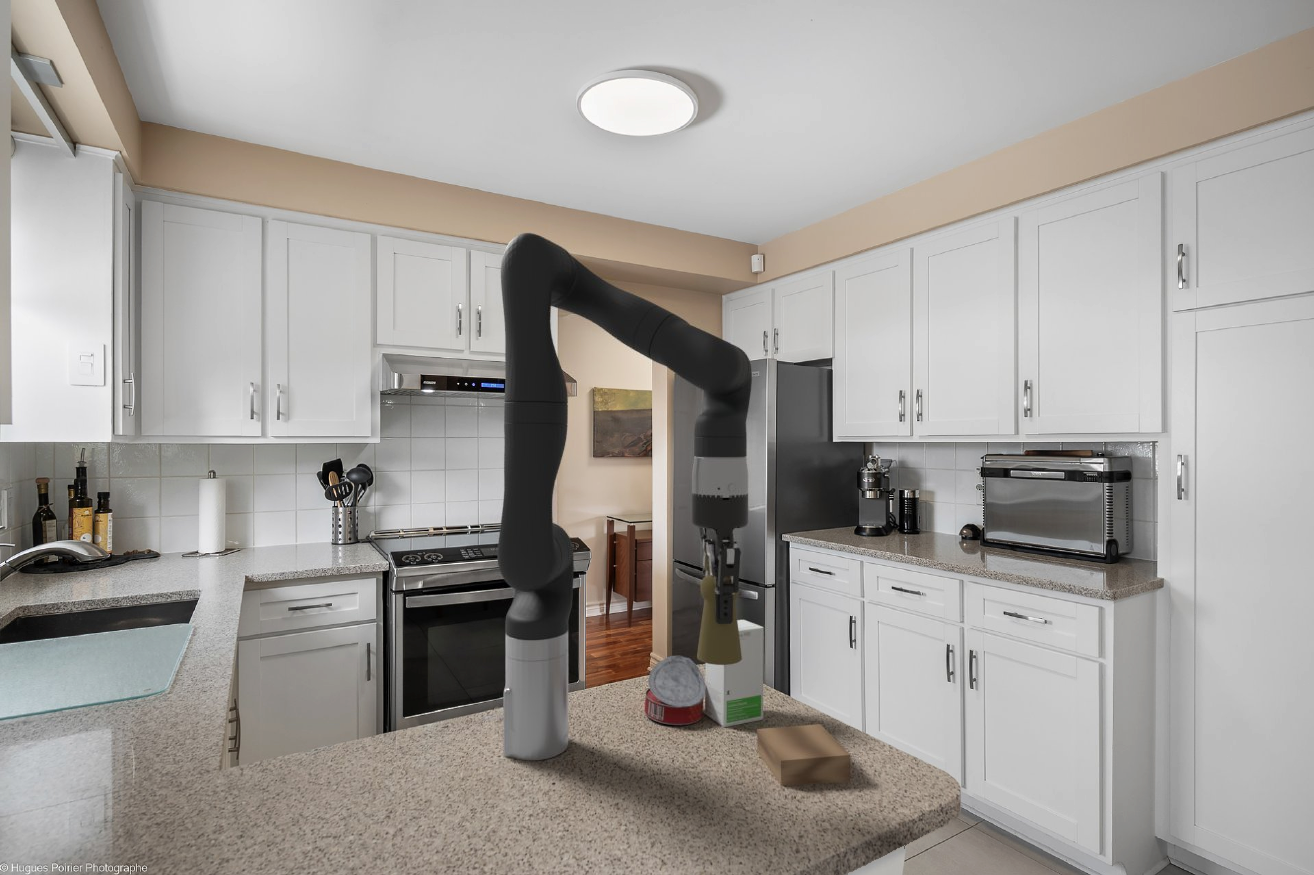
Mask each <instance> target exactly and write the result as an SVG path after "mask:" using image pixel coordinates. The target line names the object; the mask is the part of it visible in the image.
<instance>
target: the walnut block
mask: <svg viewBox="0 0 1314 875" xmlns="http://www.w3.org/2000/svg"><path fill="white" fill-rule="evenodd" d="M756 729H757V728H756ZM756 734H757V735H756V739H757V740H756V742H757V743H756V748H757V754H758V753H759V754H758V755H759V757H760V756H761V757H762V758H761V757H760V758H761V759H762V762H764V764H765V763H766V764H765V765H766V767H767V766H768V767H767V768H768V769H769V771H770V770H771V771H770V773H773V774H772V776H773V777H774V778H775V777H776V778H775V780H776V781H777V783H780V784H779V785H780V786H781V785H783V786H797V785H812V784H813V785H814V784H828V783H829V784H830V783H831V784H832V783H843V782H844V783H845V782H851V754H850V753H849V751H848V750H846V749H845V747H843V746H842V745H841V744H840V742H838V740H836V739H835V737H833V735H832V734H830V732H828V731H827V729H826V728H825V727H824V726H823V725H822V724H820V723H819V724H805V725H793V726H779V727H767V728H766V727H765V728H758V729H757V730H756Z"/></svg>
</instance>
